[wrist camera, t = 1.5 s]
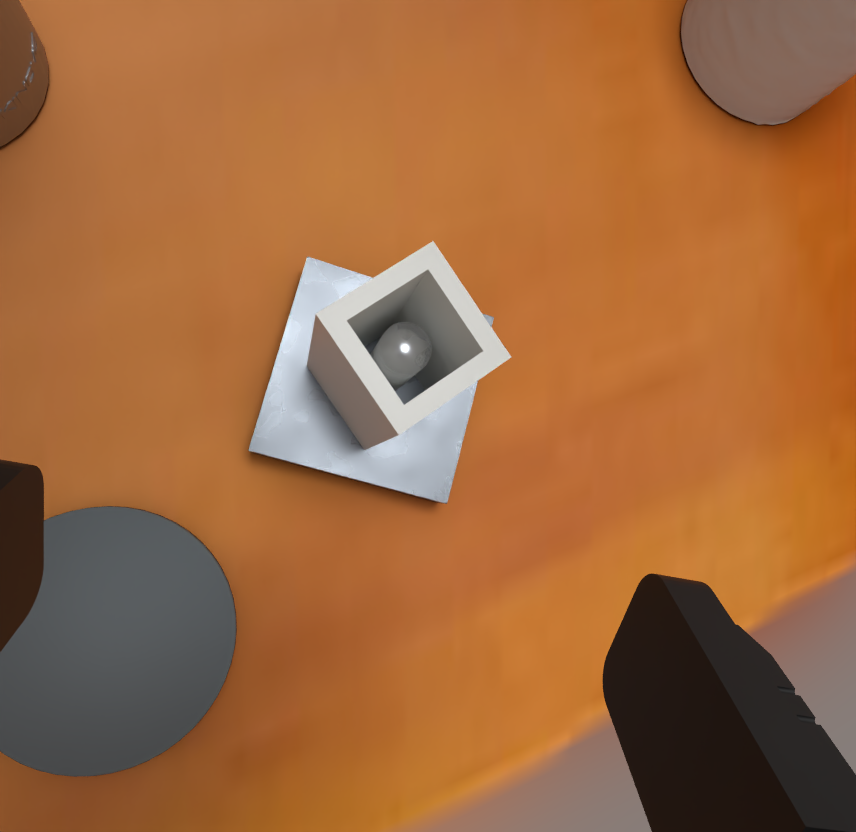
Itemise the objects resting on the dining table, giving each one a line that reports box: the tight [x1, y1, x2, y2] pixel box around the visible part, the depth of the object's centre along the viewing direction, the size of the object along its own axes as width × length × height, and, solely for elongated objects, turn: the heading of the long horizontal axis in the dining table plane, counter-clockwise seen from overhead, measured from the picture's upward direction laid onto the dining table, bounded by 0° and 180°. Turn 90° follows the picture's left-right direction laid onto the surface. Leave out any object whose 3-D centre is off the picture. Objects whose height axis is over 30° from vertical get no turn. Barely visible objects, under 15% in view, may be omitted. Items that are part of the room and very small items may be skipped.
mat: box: [0, 506, 236, 776], centre depth 30 cm, size 12×12×1 cm
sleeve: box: [307, 242, 511, 450], centre depth 28 cm, size 5×5×10 cm
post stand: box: [249, 257, 494, 504], centre depth 30 cm, size 10×10×10 cm
